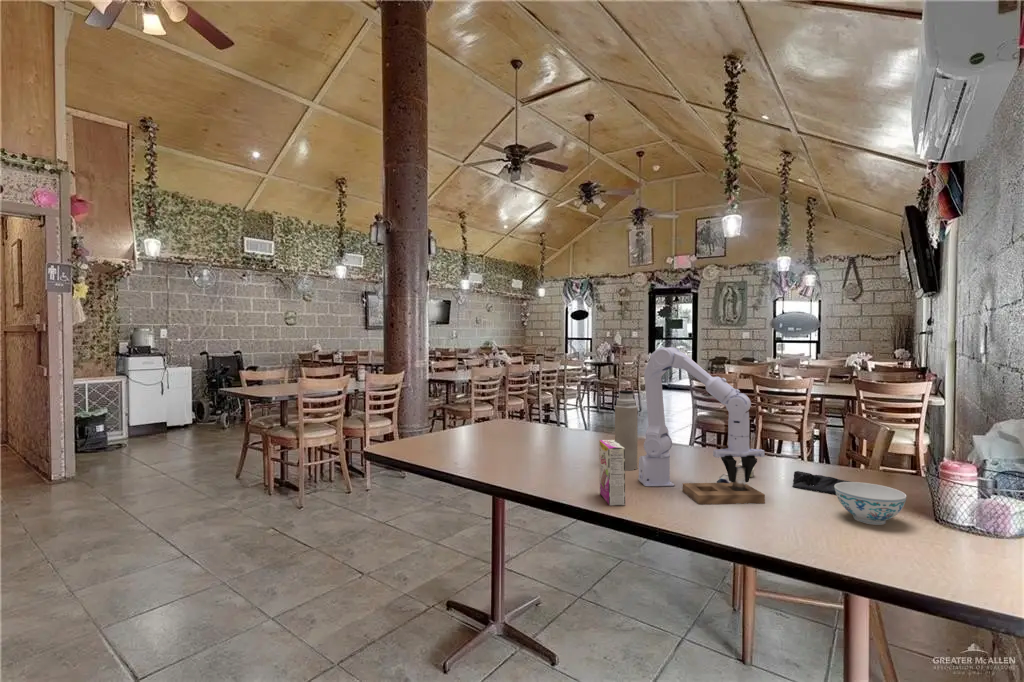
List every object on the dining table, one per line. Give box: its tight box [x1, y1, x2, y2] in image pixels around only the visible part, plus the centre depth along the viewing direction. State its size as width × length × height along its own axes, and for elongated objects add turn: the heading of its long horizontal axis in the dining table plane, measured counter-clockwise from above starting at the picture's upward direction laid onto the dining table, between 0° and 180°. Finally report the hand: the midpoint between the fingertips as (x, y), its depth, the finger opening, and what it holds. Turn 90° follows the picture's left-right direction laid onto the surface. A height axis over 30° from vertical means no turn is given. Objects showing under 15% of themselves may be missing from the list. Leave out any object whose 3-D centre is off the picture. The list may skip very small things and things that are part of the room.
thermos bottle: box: [614, 389, 638, 471], centre depth 181 cm, size 8×8×28 cm
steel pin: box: [732, 464, 747, 491], centre depth 147 cm, size 4×4×8 cm
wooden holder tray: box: [681, 482, 766, 505], centre depth 146 cm, size 19×12×2 cm, turn 92°
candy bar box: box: [598, 439, 626, 507], centre depth 144 cm, size 11×5×16 cm, turn 4°
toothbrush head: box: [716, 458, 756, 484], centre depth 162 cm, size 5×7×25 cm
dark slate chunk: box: [791, 470, 852, 495], centre depth 154 cm, size 15×22×5 cm
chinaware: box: [834, 481, 907, 526], centre depth 128 cm, size 15×15×8 cm
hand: (738, 481), depth 147 cm, fingers closed on steel pin, 4 cm apart
